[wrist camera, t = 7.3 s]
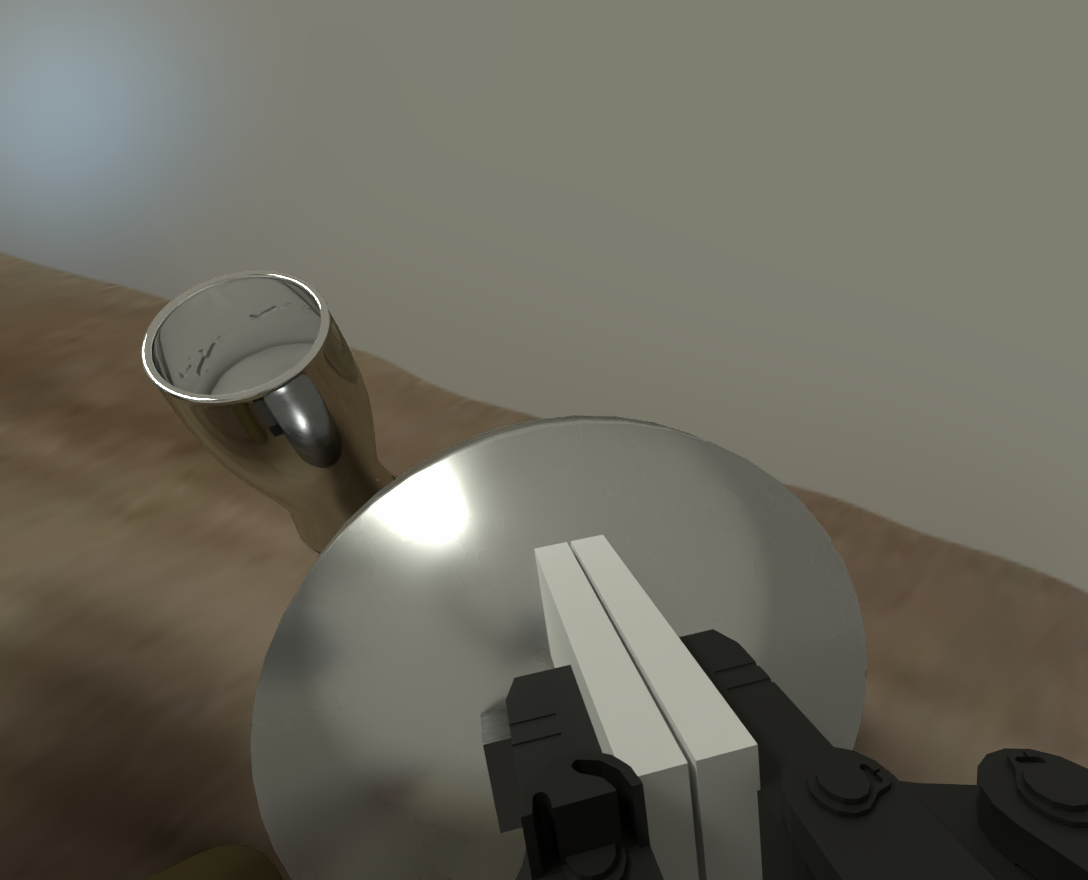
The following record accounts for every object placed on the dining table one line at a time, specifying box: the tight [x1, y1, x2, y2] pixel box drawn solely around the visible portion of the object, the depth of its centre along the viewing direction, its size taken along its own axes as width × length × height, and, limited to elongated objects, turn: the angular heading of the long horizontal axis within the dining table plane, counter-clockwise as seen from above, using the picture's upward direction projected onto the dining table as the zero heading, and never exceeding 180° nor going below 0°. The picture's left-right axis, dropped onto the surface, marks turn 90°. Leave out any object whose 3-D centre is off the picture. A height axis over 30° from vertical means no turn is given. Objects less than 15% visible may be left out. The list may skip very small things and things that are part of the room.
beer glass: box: [141, 270, 395, 553], centre depth 27 cm, size 7×7×15 cm
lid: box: [250, 415, 867, 880], centre depth 14 cm, size 16×16×2 cm
